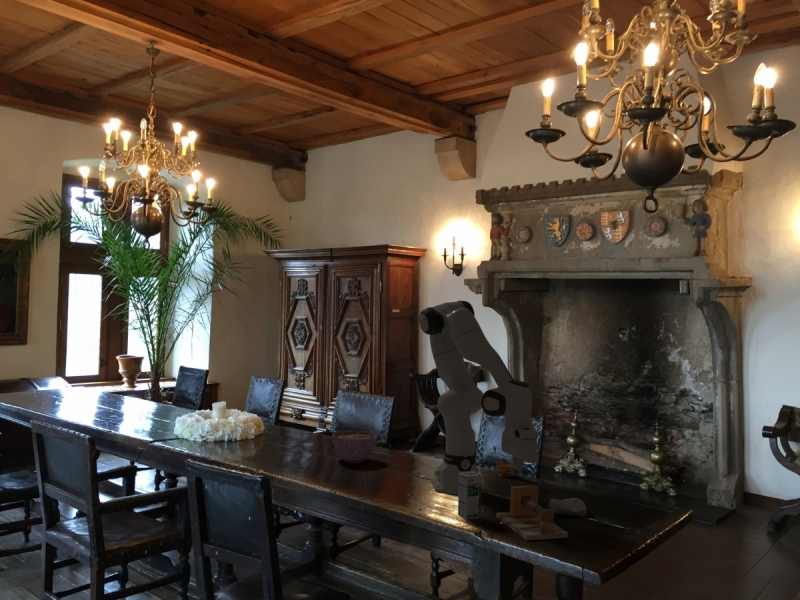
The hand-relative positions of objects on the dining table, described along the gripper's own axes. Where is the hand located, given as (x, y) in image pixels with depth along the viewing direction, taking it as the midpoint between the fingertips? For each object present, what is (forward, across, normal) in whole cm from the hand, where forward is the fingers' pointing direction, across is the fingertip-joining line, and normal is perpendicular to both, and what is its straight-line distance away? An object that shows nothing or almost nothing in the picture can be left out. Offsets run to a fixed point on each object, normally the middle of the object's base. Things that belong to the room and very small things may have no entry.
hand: (518, 470), depth 221 cm
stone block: (+16, -1, +20) cm, 26 cm away
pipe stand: (+16, +10, 0) cm, 19 cm away
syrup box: (+15, -3, -16) cm, 23 cm away
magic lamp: (+15, -49, +19) cm, 55 cm away
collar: (+13, +5, 0) cm, 14 cm away
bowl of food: (+13, -84, -39) cm, 93 cm away
